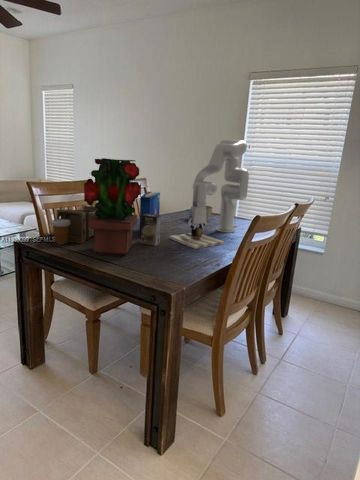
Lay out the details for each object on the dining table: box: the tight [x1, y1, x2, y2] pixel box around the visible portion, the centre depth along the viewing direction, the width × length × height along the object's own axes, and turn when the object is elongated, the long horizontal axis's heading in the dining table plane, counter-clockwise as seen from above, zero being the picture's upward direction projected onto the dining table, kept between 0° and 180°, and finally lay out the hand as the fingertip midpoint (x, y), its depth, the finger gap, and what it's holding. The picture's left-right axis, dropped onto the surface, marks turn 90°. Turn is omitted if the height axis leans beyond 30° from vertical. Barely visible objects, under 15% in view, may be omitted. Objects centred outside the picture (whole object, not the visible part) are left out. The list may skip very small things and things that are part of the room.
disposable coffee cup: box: [51, 218, 71, 245], centre depth 173 cm, size 10×10×12 cm
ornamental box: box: [56, 205, 99, 244], centre depth 191 cm, size 35×18×18 cm, turn 163°
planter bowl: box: [205, 204, 214, 222], centre depth 254 cm, size 16×16×11 cm
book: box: [139, 191, 161, 236], centre depth 203 cm, size 22×7×25 cm, turn 168°
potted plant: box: [83, 157, 142, 257], centre depth 159 cm, size 22×22×45 cm
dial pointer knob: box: [185, 226, 203, 239], centre depth 196 cm, size 12×5×6 cm, turn 38°
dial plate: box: [168, 232, 225, 250], centre depth 194 cm, size 22×24×2 cm
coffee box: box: [140, 214, 162, 247], centre depth 182 cm, size 9×6×16 cm
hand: (196, 234), depth 193 cm, fingers open, 4 cm apart
